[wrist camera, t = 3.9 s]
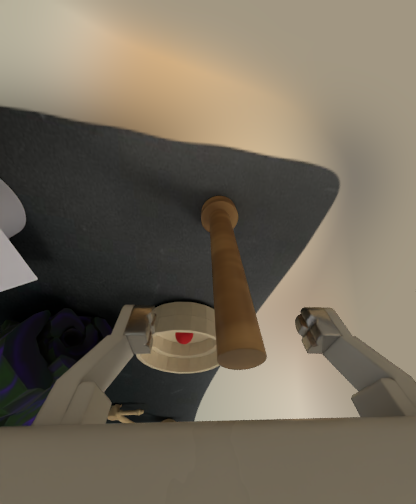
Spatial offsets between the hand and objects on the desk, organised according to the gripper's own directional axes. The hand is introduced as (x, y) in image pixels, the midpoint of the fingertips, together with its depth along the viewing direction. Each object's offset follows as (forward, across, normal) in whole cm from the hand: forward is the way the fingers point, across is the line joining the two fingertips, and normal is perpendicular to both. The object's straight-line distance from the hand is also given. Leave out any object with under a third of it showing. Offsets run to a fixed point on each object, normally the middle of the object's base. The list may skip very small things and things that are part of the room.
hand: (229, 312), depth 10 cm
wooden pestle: (+13, 0, 0) cm, 13 cm away
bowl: (+13, +4, +23) cm, 27 cm away
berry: (+11, +4, +22) cm, 25 cm away
